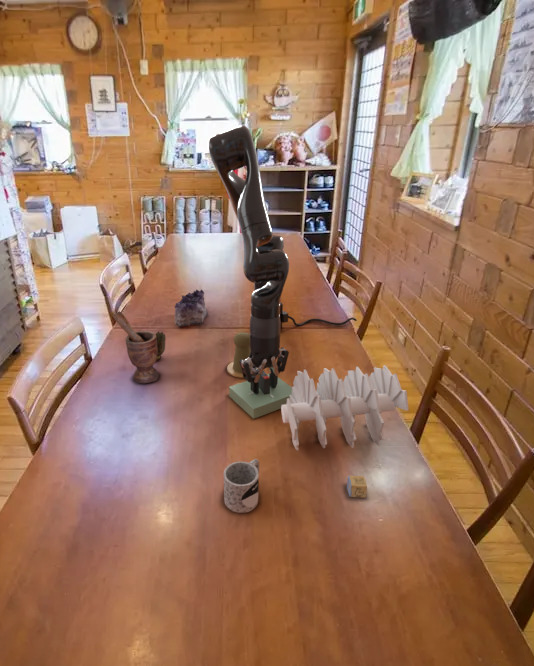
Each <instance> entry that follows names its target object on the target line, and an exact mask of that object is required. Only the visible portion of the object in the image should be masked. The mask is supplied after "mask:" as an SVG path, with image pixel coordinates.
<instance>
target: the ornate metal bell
mask: <svg viewBox="0 0 534 666" xmlns="http://www.w3.org/2000/svg"><path fill="white" fill-rule="evenodd" d="M155 334H156V337H157V348H158V354H157V359H156V362H158V361H160V360H161V358H162V355H163V354H164V352H165V351H166V338H167V337H166V334H165V333H164V332H163V331H161V332H160V331H157V333H155Z"/></svg>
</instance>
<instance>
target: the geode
mask: <svg viewBox="0 0 534 666" xmlns="http://www.w3.org/2000/svg"><path fill="white" fill-rule="evenodd" d="M174 309H175V310H174V324H175V325H176V326H177V327H179V328H182V327H189V326H196V325H203V324H204V320H205V318H206V317H207V316H208V311H207V307H206V301H205V292H204V290H203V289H200V290H199V289H195V290H193V292H188V293H187V294H185V295H182V294H181V299H180V300H178V302H176V303H175V305H174Z"/></svg>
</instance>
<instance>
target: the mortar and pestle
mask: <svg viewBox="0 0 534 666" xmlns="http://www.w3.org/2000/svg"><path fill="white" fill-rule="evenodd" d="M112 317H113V319H114V320H115V323H117V324H118V325H119V327H120V328H121V329H122V330H123V331H124V332H125V333H126V334H127V335H126V337H125V338H124V339H125V340H124V341H125V345H126V351H127V356H128V358H129V360H130V363H131V365H133V366H134V367H136V368H135V370H134V372H133V376H132V379H133V381H134V382H135V383H138V384H148V383H152V382H156V381H157V380H158V379H159V375H160V374H159V371H158V369H156V368H155V367H154V364H155V363H156V362H157V361H156V359H157V354H158V348H157V337H156V334H157V333H155V332H154V331H150V330H138V331H135V330H134V328H133V327H132V325H131V324H130V322H129V320H128V319H127V318H126V316H125V314H123V313H122V311H119V310H118V311H117V312H116V313H114V314H113V316H112Z"/></svg>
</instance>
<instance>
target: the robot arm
mask: <svg viewBox="0 0 534 666" xmlns="http://www.w3.org/2000/svg"><path fill="white" fill-rule="evenodd" d="M207 150H208V154H209V157H210V159H211V162H212V164H213V166H214V168H215V170H216V172H217V174H218V176H219V178H220V180H221V182H222V185H223V186H224V188H225V190H226V193H227V195H228V199H229V202H230V204H231V206H232V209H233V212H234V214H235V217H236V219H237V221H238V224H239V228H240V232H241V236H242V240H243V241H242V242H243V261H242V263H243V265H242V269H243V274H244V277H245V279H247V280H248V281H249V282H250V283H253V292H252V293H251V295H250V317H249V334H250V350H251V353H250V355H249V358H247V359H246V360H243V359H241V360H240V361H239V363H240V367H241V370H242V374H243V378H242V379H244V380H246V381H248V382H249V383H250V382H251V391H252V392H254V393H255V394H259V382H258V380H259V377H260V375H261V374H262V372H263V371H264V370H266V369H269V373H270V375H269V378H270V386H271V387H272V388H276V385H277V384H278V382H277V381H278V377H279V375H280V373H283V372H285V370H286V367H287V362H288V358H289V355H290V351H289V350H287V349H286V348H285V347H281V330H282V329H283V324H284V323H288V322H289V319H290V320H291V321H292V323H293V324H294V326H296V327H301V326H304V325H307V324H308V323H311V322H315V321H316V322H321V323H325V324H329V325H334V326H343V325H345V324H347V323H348V322H350V321H355V322H357V321H358V319H356V318H355V317H353V316H352V317H348V318H347V319H346V320H345V321H342V322H332V321H329V320H325V319H321V318H310V319H308V320H305V321H304V322H302V323H297V322H296V320H295V318H294V317H292V316H291V315H289V313H288V312H286V311H284V303H283V302H281V300H282V294H283V292H284V287H285V285H286V281H287V279H288V275H289V272H290V261H289V257H288V255H287V253H286V252H285V241H284V238H283V236H281V235H278V234H277V235H276V234H273V229H272V226H271V222H270V218H269V215H268V206H267V204H266V200H265V197H264V191H263V184H262V177H261V170H260V165H259V159H258V153H257V149H256V146H255V142H254V138H253V136H252V133H251V131H250V129H249V128H248V127H247V126H245V125H239V126H236V127H233V128H231V129H228V130H224V131H222V132H219V133H216V134H214V135H213V136H211V137H209V138H208V141H207ZM243 168H246V177H245V178H242V177H241V176H239V175H238V174H237V173H236V172H235V171H236V170H237V171H238V170H240V169H243ZM251 362H252V366H250V364H251ZM250 367H251V372H250ZM256 367H257V368H258V369H257V368H256Z"/></svg>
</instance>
